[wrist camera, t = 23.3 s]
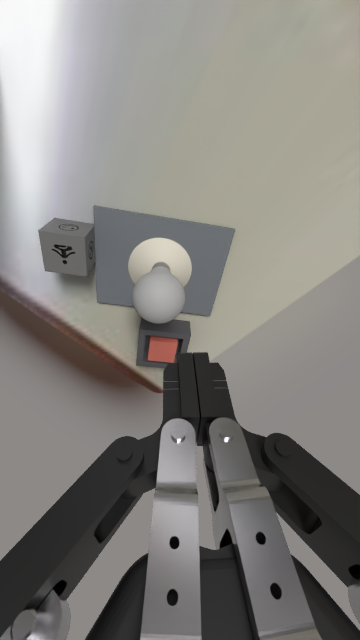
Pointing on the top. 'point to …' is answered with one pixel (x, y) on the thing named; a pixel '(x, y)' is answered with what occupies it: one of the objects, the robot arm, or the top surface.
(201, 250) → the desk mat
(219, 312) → the top surface
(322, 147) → the top surface
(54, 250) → the dice cube
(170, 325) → the button box
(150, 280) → the lightbulb
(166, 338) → the button
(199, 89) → the top surface
